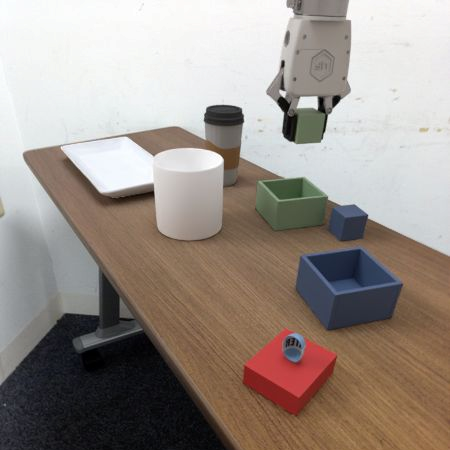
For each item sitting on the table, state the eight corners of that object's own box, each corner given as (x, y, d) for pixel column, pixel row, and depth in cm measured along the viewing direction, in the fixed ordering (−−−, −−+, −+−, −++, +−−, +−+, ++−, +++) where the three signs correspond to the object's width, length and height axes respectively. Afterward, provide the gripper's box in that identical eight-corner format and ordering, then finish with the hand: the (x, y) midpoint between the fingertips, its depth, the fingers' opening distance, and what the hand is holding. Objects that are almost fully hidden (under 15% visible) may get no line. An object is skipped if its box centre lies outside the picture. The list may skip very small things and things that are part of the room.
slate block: (349, 226, 78) (354, 203, 75) (362, 238, 75) (368, 214, 72) (327, 229, 77) (332, 206, 74) (340, 241, 74) (345, 217, 71)
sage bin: (300, 203, 86) (304, 176, 82) (323, 224, 78) (328, 196, 75) (255, 208, 83) (257, 180, 80) (274, 231, 76) (277, 201, 73)
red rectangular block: (282, 345, 52) (289, 304, 48) (332, 372, 48) (343, 330, 45) (242, 383, 47) (246, 340, 43) (295, 416, 43) (304, 372, 40)
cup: (228, 238, 73) (230, 169, 66) (160, 243, 71) (155, 173, 64) (215, 209, 82) (216, 146, 75) (154, 213, 80) (149, 149, 73)
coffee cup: (248, 183, 93) (253, 111, 85) (217, 191, 90) (218, 115, 81) (227, 172, 99) (229, 102, 90) (196, 178, 95) (195, 106, 86)
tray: (102, 208, 81) (100, 191, 79) (61, 159, 103) (58, 144, 101) (182, 192, 89) (181, 176, 86) (128, 149, 110) (126, 135, 108)
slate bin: (353, 278, 64) (361, 246, 61) (391, 317, 57) (403, 283, 54) (295, 288, 62) (300, 254, 58) (327, 330, 54) (335, 295, 51)
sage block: (308, 135, 74) (312, 107, 71) (320, 142, 71) (325, 114, 68) (285, 136, 73) (288, 108, 70) (296, 144, 69) (300, 115, 67)
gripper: (276, 7, 56) (264, 148, 67) (387, 10, 60) (358, 142, 71) (256, 4, 61) (248, 135, 72) (358, 7, 66) (336, 130, 77)
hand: (302, 137), depth 71 cm, fingers closed on sage block, 4 cm apart
